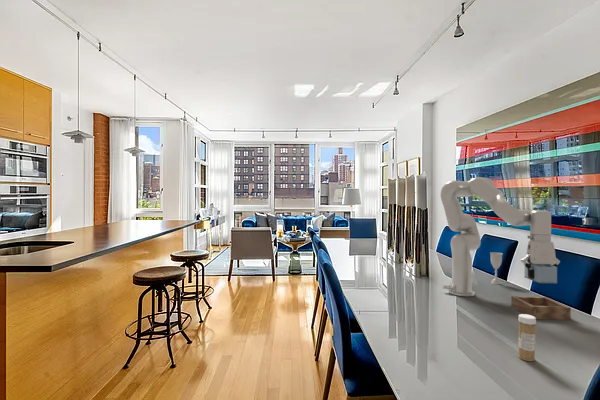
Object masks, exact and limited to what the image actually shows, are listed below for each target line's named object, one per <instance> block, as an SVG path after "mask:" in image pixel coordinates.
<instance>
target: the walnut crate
mask: <svg viewBox="0 0 600 400" xmlns="http://www.w3.org/2000/svg"><path fill="white" fill-rule="evenodd" d="M510 298H511V302H510V303H511V305H510V306H511V308H512V307H513V308H512V309H514V310H516V311H518V312H520V313H521V314H528V315H532V316H534V317H535V318H536V320H537V319H538V320H539V319H540V320H564V321H565V320H566V321H567V320H572V319H571V313H572V312H571V311H572V310H571V308H572V307H570V306H568V305H565V304H563V303H560V302H559V301H556V300H554V299H552V298H550V297H547V296H523V295H521V296H520V295H519V296H517V295H511V297H510Z"/></svg>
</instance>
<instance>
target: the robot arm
mask: <svg viewBox="0 0 600 400" xmlns="http://www.w3.org/2000/svg"><path fill="white" fill-rule="evenodd" d="M472 196H473V197H475V196H476V197H478V198H479V199H480V200H482V201H483V202H484V203H485V204H487V205H488V206H489V207H490V209H491V210H492V211H493V213H495V214H496V216H498V217H499V218H500V219H502V221H504V222H505V223H507V224H509V225H510V226H513V227H523V226H529V227H530V229H529V230H530V232H529V233H530V234H529V235H527V239H529V241H528V244H527V249H526V255H525V256H524V257H523V258H521V259H520V262H521V263H522V264H523V266H524V267H525V266H526V268H527V269H528V277H529V278H531V279H534V270H533V268H534V265H535V264H536V265H551V266H555V267H557V268H558V265H559V264H560V263H561V260H560V259H558V258H557V257H556V249H555V245H554V241H552V212H551V211H549V210H545V209H544V210H543V209H542V210H541V209H538V210H537V209H535V210H531V209H525V208H524V209H520V208H519V209H517V208H515V207H514V206H513V205H511V204H510V203H509V202H508V201H506V200H505V197H504V196H505V194H504V192H503V191H501V190H500V189H498V188H497V186H495V182H494V181H493V180H492V179H490V178H489V177H483V176H482V177H480V176H478V177H474V178H471V179H470V180H467V181H465V180H464V181H463V180H450V181H448V182H446V183H445V184H444V185H443V186H442V187H441V190H440V200H441V204H442V206H443V209H444V213H445V217H446V221H447V224H448V228H449V229H450V230H451V231H453V232H460V233H457V234H455V235H454V236H452V237H451V239H450V248H451V249H450V251H451V283H449V284H448V285H446V284H444V285H443V284H442V286H441V287H442V289H443V290H448V293H449V294H451V295H454V296H458V297H459V296H460V297H474V296H475V295H476V293H475V291H474V290H473V289H472V281H473V277H472V276H473V275H472V274H473V258H472V255H471V251H477V250H478V249H479V248H480V247H481V244H482V243H481V240H482V239H481V236H480V233H479V230H478V226H477V223H476V220H475V218H474V217H473V216H472V215H471V214H469V213H468V214H467V213H464V211H463V209H462V205H461V203H460V201H459V200H458V198H457V197H463V198H466V197H472ZM527 262H529V263H527Z"/></svg>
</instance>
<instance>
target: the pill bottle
mask: <svg viewBox="0 0 600 400" xmlns="http://www.w3.org/2000/svg"><path fill="white" fill-rule="evenodd" d="M536 323H537V319H536V318H535V317H534V316H532V315H528V314H523V313H521V314H518V342H517V343H518V355H517V356H518V358H519V359H521V360H523V361H526V362H535V360H536V358H535V353H536V352H535V350H536Z"/></svg>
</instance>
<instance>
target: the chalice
mask: <svg viewBox="0 0 600 400" xmlns="http://www.w3.org/2000/svg"><path fill="white" fill-rule="evenodd" d="M489 254H490V264H491V266H492V267H493V269H494V273H495V274H494V278H493V279H492V280H491V282H490V283H491V284H493V285H501V282H500V280H499V279H498V269H499V268H500V266H501V265H502V263H503V254H504V253H502V252H495V251H494V252H493V251H492V252H489Z"/></svg>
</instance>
